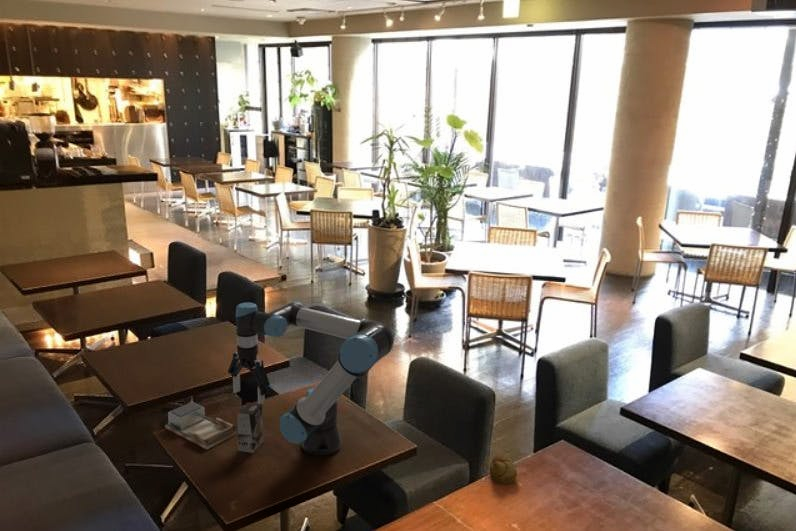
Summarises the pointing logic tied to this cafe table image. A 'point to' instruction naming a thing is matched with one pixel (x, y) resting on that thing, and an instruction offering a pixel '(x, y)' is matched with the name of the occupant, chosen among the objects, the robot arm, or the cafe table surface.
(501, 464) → the olive snail shell
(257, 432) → the coffee box
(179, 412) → the housing
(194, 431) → the silver tray
